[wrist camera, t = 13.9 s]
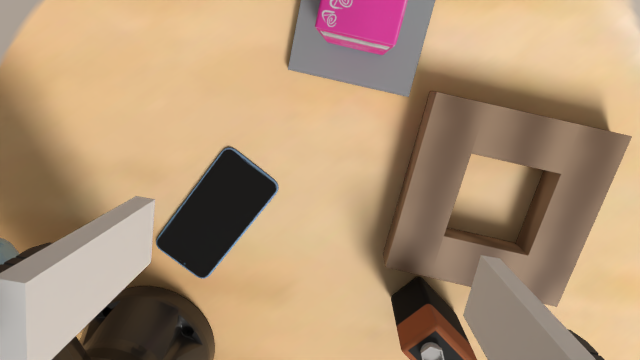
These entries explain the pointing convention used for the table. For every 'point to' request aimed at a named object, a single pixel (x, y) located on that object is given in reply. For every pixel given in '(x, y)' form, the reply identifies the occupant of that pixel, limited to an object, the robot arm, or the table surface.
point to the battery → (428, 325)
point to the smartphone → (217, 213)
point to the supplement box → (361, 23)
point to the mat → (362, 52)
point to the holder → (546, 207)
